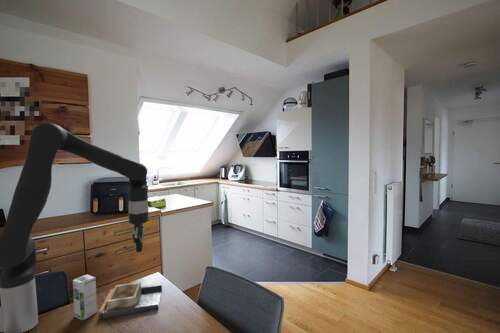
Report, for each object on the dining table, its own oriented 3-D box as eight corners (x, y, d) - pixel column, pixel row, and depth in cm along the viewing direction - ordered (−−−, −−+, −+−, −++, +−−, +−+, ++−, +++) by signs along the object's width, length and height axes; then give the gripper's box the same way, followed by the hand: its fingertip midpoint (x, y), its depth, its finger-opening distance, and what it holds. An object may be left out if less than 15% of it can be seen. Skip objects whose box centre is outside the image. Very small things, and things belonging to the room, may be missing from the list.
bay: (99, 319, 94) (98, 311, 93) (111, 296, 108) (110, 289, 108) (158, 310, 99) (157, 302, 98) (162, 288, 114) (161, 282, 113)
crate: (107, 313, 96) (107, 301, 96) (116, 296, 107) (115, 285, 107) (135, 309, 98) (135, 297, 98) (141, 292, 110) (140, 282, 109)
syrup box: (73, 316, 95) (71, 280, 94) (89, 307, 101) (87, 273, 100) (82, 321, 93) (79, 283, 92) (98, 312, 98) (96, 276, 97)
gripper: (132, 207, 109) (133, 246, 110) (124, 215, 96) (125, 258, 97) (150, 206, 111) (151, 244, 112) (145, 214, 98) (146, 257, 99)
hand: (139, 251), depth 105 cm, fingers closed
